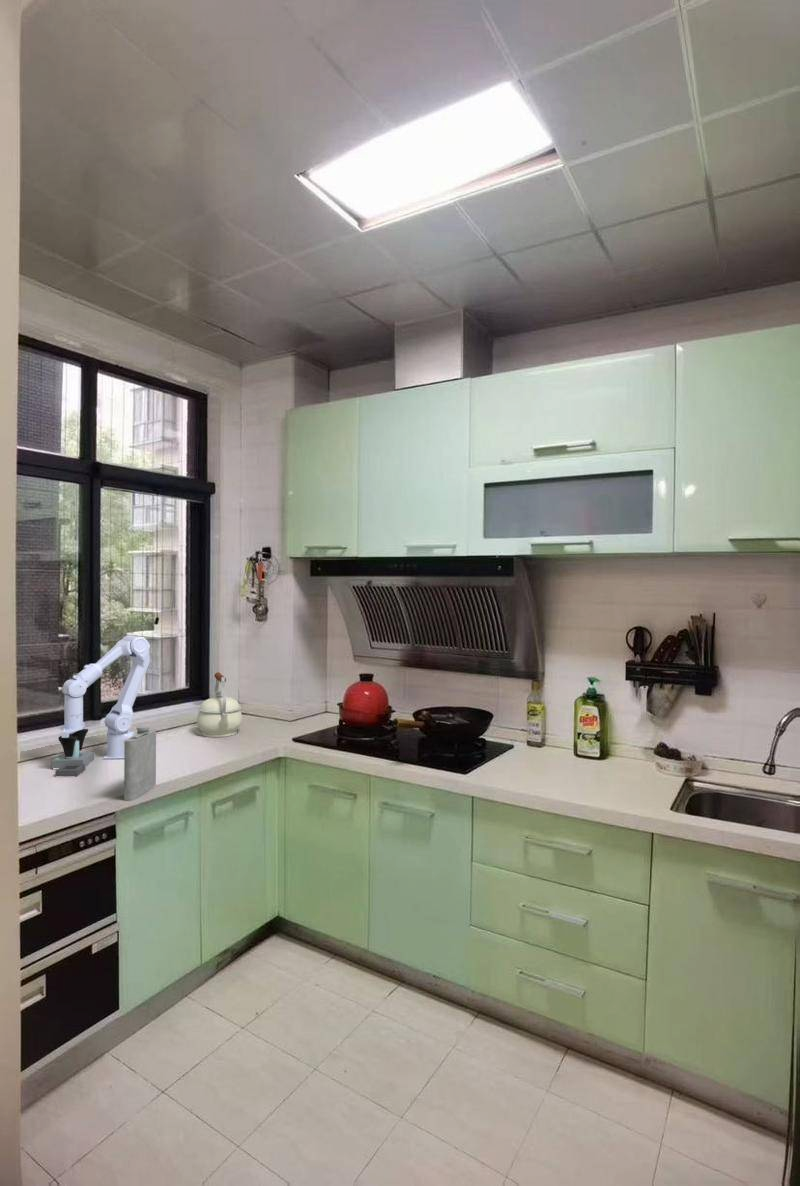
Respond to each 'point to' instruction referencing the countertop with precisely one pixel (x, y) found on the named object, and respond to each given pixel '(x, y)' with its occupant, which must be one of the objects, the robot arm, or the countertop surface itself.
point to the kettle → (219, 713)
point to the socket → (73, 759)
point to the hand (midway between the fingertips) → (73, 753)
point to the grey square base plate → (70, 770)
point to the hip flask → (139, 763)
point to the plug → (75, 750)
